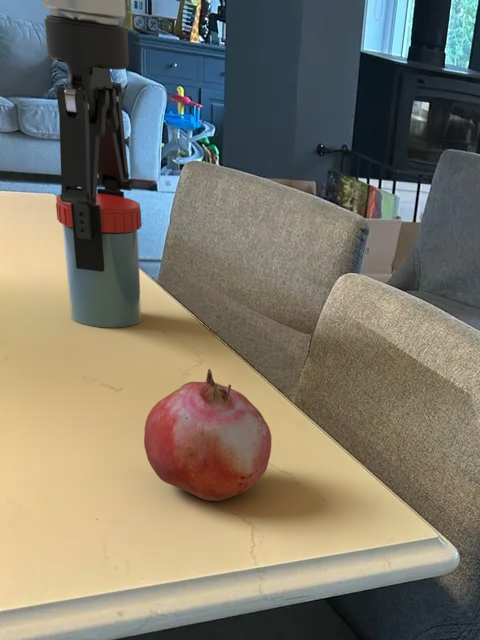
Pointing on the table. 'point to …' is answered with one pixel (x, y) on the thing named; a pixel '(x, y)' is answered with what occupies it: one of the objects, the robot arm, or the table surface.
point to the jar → (106, 282)
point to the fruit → (207, 440)
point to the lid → (107, 213)
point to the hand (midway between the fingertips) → (102, 259)
